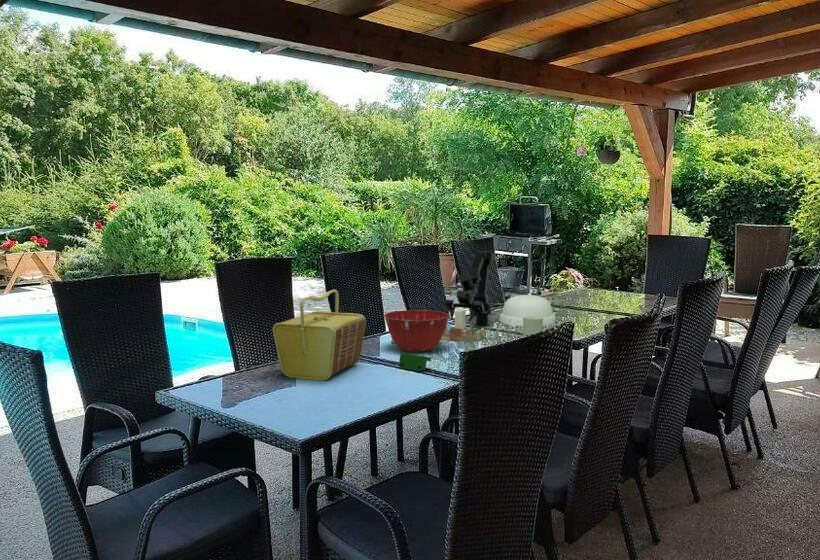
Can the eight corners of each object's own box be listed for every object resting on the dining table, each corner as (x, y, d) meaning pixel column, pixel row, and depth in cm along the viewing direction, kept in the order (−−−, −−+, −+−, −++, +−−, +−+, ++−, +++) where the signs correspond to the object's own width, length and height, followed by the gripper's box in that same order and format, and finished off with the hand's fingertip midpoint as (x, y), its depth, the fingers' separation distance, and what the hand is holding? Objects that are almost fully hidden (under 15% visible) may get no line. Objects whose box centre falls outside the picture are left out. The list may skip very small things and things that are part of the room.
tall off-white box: (458, 336, 300) (458, 309, 298) (465, 337, 298) (465, 310, 297) (454, 338, 295) (455, 311, 294) (462, 339, 294) (462, 311, 292)
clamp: (425, 380, 242) (435, 360, 241) (416, 380, 237) (427, 359, 236) (404, 364, 249) (414, 344, 248) (395, 363, 244) (405, 343, 243)
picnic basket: (334, 384, 222) (332, 300, 219) (271, 377, 231) (269, 297, 228) (368, 364, 249) (367, 289, 246) (311, 359, 258) (309, 287, 255)
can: (520, 343, 285) (520, 317, 284) (524, 339, 294) (525, 314, 292) (540, 345, 282) (541, 318, 280) (544, 340, 290) (545, 315, 289)
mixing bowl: (392, 340, 293) (392, 308, 291) (453, 343, 287) (453, 309, 285) (377, 355, 265) (376, 319, 263) (444, 357, 259) (444, 321, 257)
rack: (444, 334, 306) (444, 322, 306) (484, 337, 298) (484, 325, 298) (435, 339, 294) (435, 327, 294) (476, 343, 287) (476, 330, 286)
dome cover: (521, 314, 362) (522, 290, 360) (567, 321, 341) (567, 295, 339) (487, 321, 340) (487, 296, 338) (533, 329, 318) (534, 302, 317)
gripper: (445, 283, 302) (437, 309, 294) (482, 284, 295) (475, 311, 286) (450, 296, 310) (443, 322, 302) (487, 298, 303) (480, 325, 294)
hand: (460, 320), depth 296 cm, fingers open, 9 cm apart
